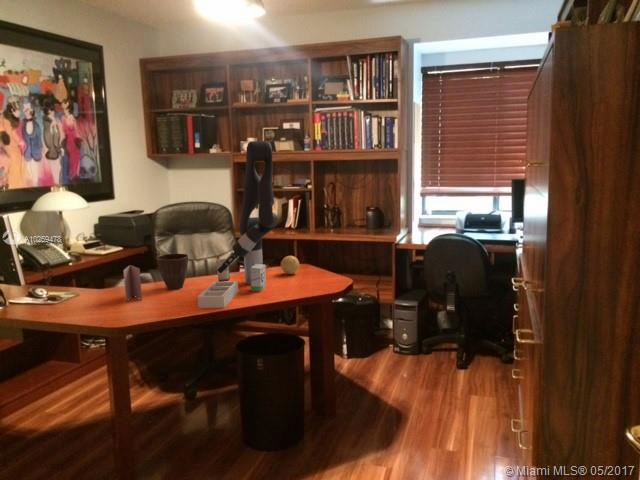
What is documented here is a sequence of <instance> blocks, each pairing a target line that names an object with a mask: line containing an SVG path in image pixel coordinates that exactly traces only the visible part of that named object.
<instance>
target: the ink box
mask: <svg viewBox="0 0 640 480" xmlns="http://www.w3.org/2000/svg"><path fill="white" fill-rule="evenodd" d="M266 273H267V272H266V264H255V265H254V266H252V267H251V284H250V285H251V286H250V288H251V290H250V291H251V292H254V293H255V292H256V293H257V292H258V293H260V292H262V291H263V290H264V289H266V287H267V279H266V278H267V277H266Z"/></svg>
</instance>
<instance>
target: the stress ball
mask: <svg viewBox="0 0 640 480" xmlns="http://www.w3.org/2000/svg"><path fill="white" fill-rule="evenodd" d="M280 268H281V270H282V271H283V272H284V273H285V274H287V275H289V274H291V275H294V274H295V273H297V271H299V268H300V261H299V260H298V258H297V257H296V256H293V255H288V256H285V257H283V259H282V260H281V261H280Z"/></svg>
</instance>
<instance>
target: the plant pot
mask: <svg viewBox="0 0 640 480" xmlns="http://www.w3.org/2000/svg"><path fill="white" fill-rule="evenodd" d="M156 260H157V265H158V268H159V271H160V275H161V277H162V281H163V282H164V284H165V287H166V288H167V290H171V291H175V290H181V289H183V287H184V284H185V280H186V276H187V273H188V272H187V271H188V264H189V255H188V254H186V253H169V254H163V255H158V256H157V257H156Z"/></svg>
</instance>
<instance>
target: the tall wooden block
mask: <svg viewBox="0 0 640 480" xmlns="http://www.w3.org/2000/svg"><path fill="white" fill-rule="evenodd" d="M227 258H228V257H225V258H224V257H223V258H217V260H215V265H216V272H217V279H218V282H230V280H231V275H230V273H231V272H230V268H229V266H230V265H229V266H228V267H227V268H226V269H225V270H224V271H223V272H222V273H219V272H218V269H219V268H220V267H221V266H222V264H223V263H224V262H225V260H226V259H227ZM225 264H226V265H228V264H227V263H225Z"/></svg>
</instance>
